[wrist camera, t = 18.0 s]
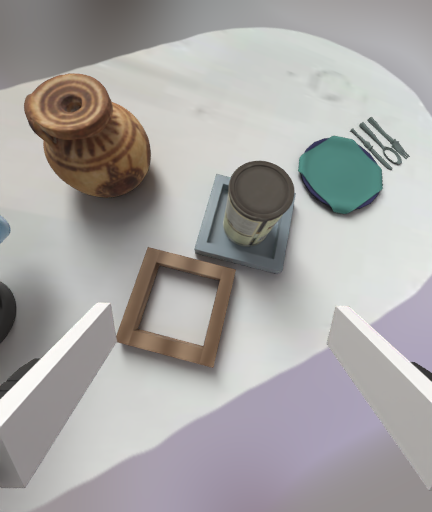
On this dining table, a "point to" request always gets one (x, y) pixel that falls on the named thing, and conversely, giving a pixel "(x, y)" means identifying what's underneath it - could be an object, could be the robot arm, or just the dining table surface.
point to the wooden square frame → (168, 345)
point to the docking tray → (221, 247)
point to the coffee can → (256, 201)
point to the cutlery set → (346, 170)
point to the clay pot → (88, 136)
